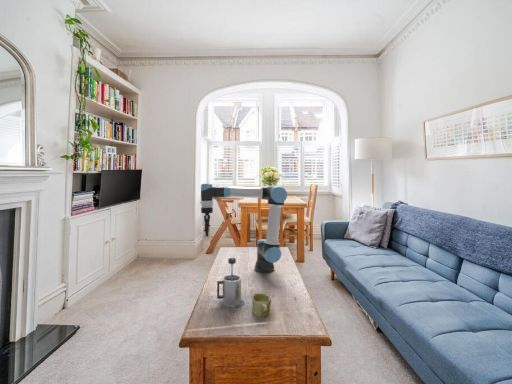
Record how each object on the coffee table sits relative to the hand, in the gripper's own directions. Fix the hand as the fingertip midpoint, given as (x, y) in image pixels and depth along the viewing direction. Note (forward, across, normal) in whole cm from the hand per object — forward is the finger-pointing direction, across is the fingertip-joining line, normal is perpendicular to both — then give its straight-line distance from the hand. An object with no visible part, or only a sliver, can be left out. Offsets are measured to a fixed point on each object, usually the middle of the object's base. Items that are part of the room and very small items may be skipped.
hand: (207, 238), depth 166 cm
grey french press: (+29, +33, +12) cm, 45 cm away
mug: (+30, +46, +28) cm, 61 cm away
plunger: (+18, +33, +14) cm, 40 cm away
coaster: (+29, +33, +14) cm, 46 cm away
